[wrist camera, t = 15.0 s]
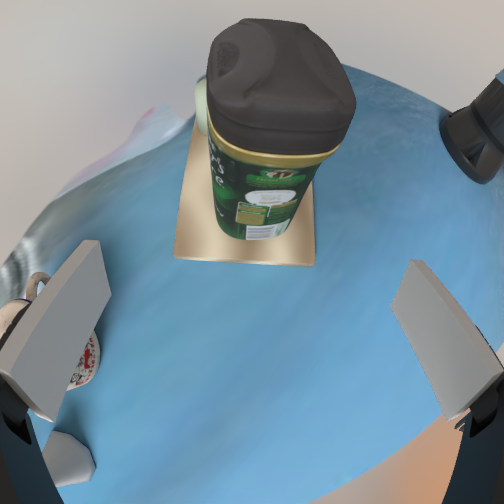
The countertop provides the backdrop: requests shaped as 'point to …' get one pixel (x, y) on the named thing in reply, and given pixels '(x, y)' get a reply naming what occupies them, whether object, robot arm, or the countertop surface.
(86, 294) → the robot arm
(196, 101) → the sage tin
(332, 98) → the coffee jar
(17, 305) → the teacup with lid
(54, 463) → the flask
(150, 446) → the countertop surface
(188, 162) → the birch board
